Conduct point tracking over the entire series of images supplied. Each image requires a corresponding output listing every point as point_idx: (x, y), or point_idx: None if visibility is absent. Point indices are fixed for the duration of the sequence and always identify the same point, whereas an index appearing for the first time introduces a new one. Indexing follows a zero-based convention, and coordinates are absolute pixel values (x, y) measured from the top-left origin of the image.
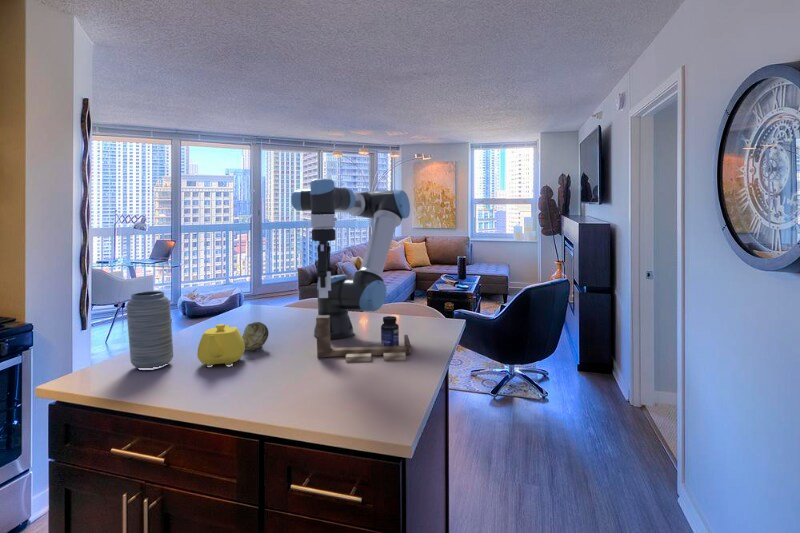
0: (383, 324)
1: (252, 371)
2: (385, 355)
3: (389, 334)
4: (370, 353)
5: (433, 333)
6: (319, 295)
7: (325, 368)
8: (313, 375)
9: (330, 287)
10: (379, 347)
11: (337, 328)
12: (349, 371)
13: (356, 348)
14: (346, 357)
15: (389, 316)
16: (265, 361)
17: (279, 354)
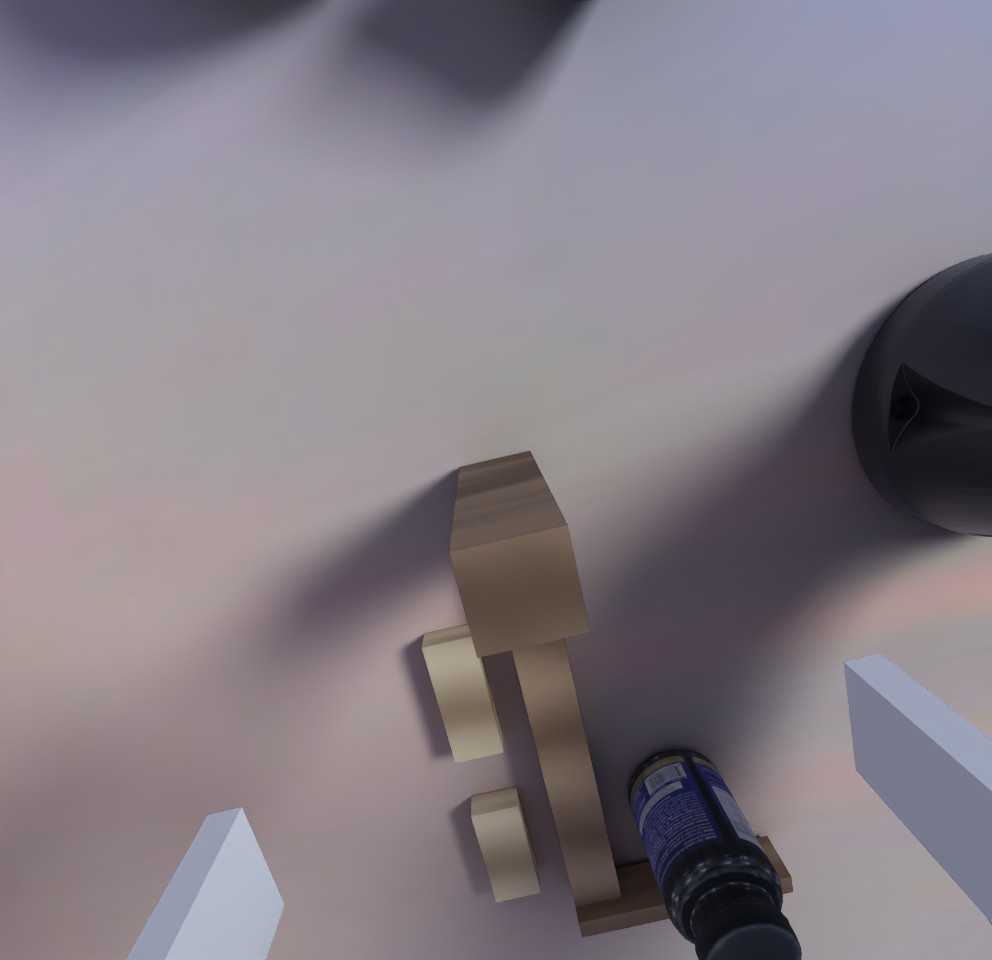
0: (717, 883)
1: (156, 166)
2: (477, 822)
3: (655, 872)
4: (500, 750)
5: (961, 929)
6: (190, 855)
7: (304, 565)
8: (191, 542)
9: (892, 804)
10: (578, 784)
11: (922, 473)
12: (289, 688)
13: (545, 677)
14: (422, 649)
15: (790, 954)
16: (348, 158)
17: (501, 189)
